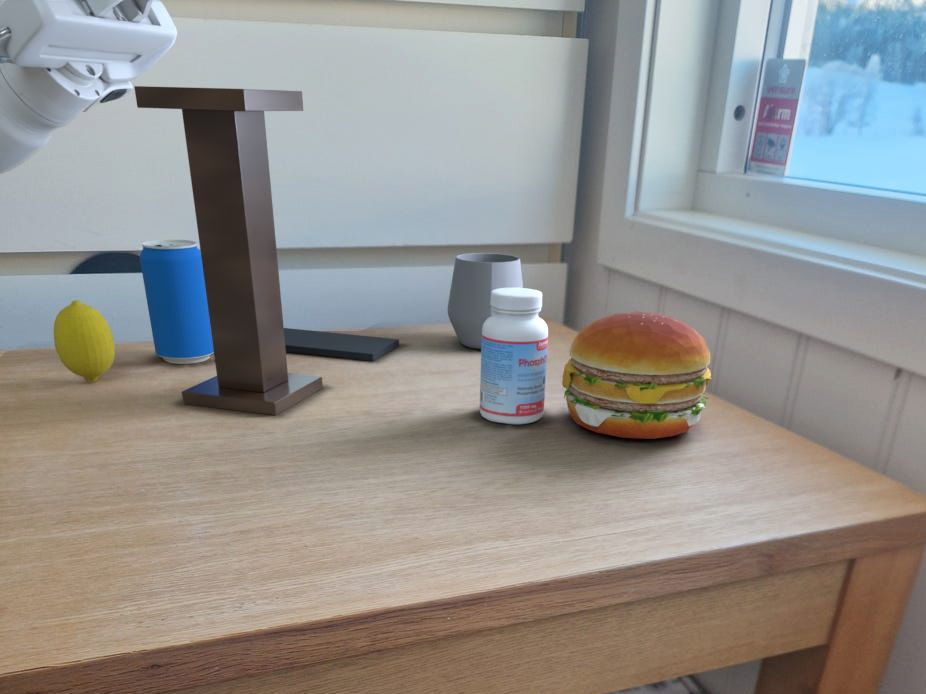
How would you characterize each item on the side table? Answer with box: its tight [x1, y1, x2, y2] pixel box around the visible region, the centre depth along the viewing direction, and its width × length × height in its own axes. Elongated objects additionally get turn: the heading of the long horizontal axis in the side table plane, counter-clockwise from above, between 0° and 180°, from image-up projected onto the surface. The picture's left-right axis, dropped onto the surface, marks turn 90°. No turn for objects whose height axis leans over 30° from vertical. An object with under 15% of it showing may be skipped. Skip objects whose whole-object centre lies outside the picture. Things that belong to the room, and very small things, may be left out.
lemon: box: [53, 299, 116, 383], centre depth 88 cm, size 6×6×8 cm
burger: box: [561, 311, 712, 440], centre depth 80 cm, size 14×14×10 cm
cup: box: [446, 252, 524, 350], centre depth 106 cm, size 10×9×10 cm
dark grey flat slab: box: [284, 327, 400, 362], centre depth 106 cm, size 20×8×1 cm, turn 73°
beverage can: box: [139, 239, 214, 365], centre depth 96 cm, size 6×6×12 cm
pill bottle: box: [479, 287, 549, 425], centre depth 81 cm, size 6×6×11 cm
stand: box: [133, 85, 324, 416], centre depth 81 cm, size 10×10×26 cm
